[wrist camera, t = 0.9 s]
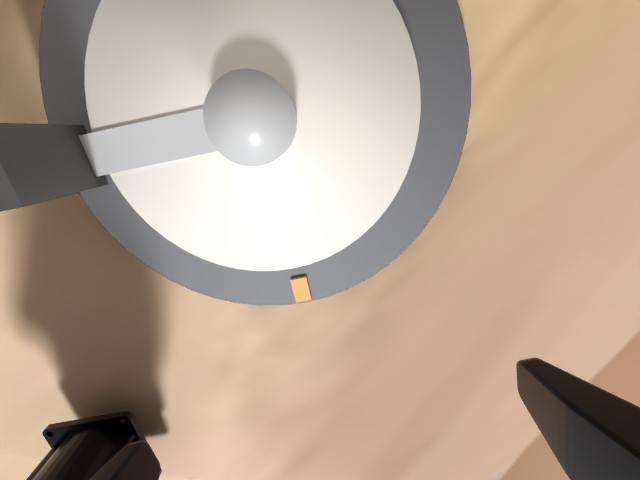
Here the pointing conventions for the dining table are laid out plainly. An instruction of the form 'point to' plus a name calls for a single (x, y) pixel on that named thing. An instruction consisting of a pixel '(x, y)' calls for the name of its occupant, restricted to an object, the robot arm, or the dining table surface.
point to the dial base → (340, 268)
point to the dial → (236, 125)
